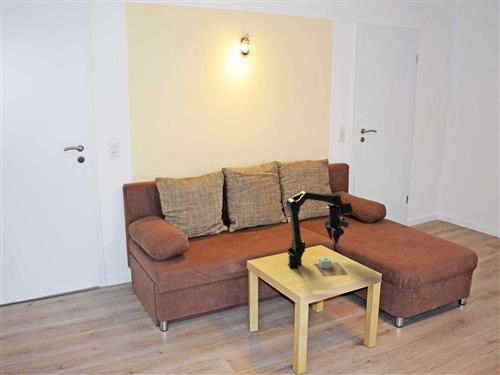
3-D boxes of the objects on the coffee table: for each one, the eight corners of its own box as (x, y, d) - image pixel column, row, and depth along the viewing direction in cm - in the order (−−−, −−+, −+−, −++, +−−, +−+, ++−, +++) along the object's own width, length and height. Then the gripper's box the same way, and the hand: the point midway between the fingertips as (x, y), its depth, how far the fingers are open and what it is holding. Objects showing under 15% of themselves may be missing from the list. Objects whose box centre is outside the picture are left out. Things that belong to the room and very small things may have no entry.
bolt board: (323, 278, 238) (323, 271, 237) (313, 265, 255) (313, 259, 254) (348, 276, 240) (348, 269, 239) (337, 264, 257) (337, 257, 256)
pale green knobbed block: (328, 263, 254) (328, 256, 253) (331, 267, 248) (331, 260, 247) (318, 264, 253) (318, 257, 252) (321, 268, 247) (321, 260, 247)
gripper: (353, 219, 247) (352, 246, 250) (342, 210, 265) (341, 235, 268) (333, 220, 246) (333, 247, 249) (324, 211, 264) (323, 236, 267)
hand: (333, 241), depth 258 cm, fingers open, 9 cm apart
